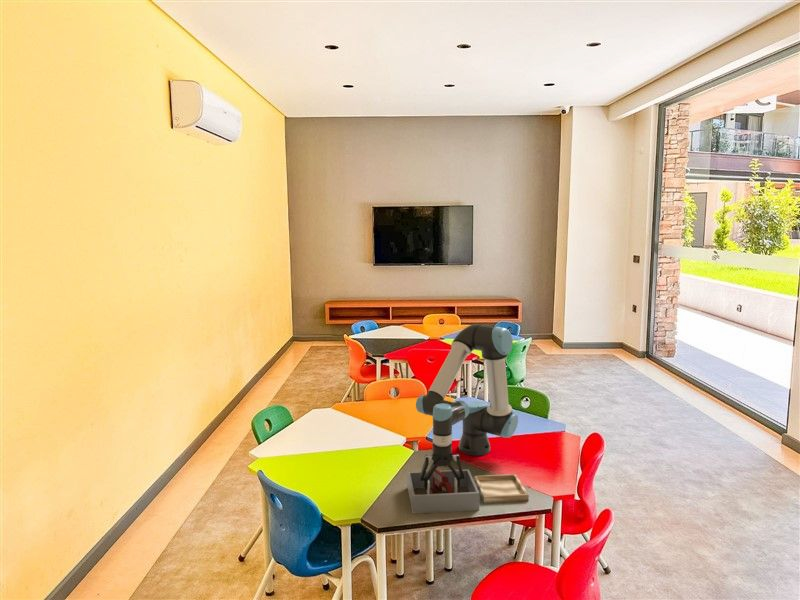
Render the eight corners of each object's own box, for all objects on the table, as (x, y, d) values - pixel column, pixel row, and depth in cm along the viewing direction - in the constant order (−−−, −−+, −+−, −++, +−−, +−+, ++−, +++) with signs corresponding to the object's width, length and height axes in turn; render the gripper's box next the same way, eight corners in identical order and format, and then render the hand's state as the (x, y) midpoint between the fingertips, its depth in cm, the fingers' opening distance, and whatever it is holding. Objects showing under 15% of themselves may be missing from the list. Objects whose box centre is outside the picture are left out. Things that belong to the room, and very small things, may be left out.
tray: (474, 481, 235) (474, 475, 235) (515, 479, 237) (515, 473, 236) (484, 502, 218) (484, 497, 217) (528, 500, 219) (528, 494, 219)
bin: (407, 487, 230) (407, 472, 229) (468, 484, 232) (469, 469, 231) (412, 513, 210) (412, 496, 209) (479, 510, 212) (479, 493, 211)
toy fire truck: (443, 508, 214) (443, 483, 213) (426, 494, 225) (426, 470, 223) (457, 503, 218) (458, 478, 216) (440, 489, 228) (440, 466, 227)
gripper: (414, 448, 213) (414, 501, 216) (472, 445, 215) (472, 498, 218) (412, 440, 220) (412, 492, 224) (468, 438, 222) (468, 489, 226)
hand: (442, 495), depth 221 cm, fingers open, 10 cm apart
